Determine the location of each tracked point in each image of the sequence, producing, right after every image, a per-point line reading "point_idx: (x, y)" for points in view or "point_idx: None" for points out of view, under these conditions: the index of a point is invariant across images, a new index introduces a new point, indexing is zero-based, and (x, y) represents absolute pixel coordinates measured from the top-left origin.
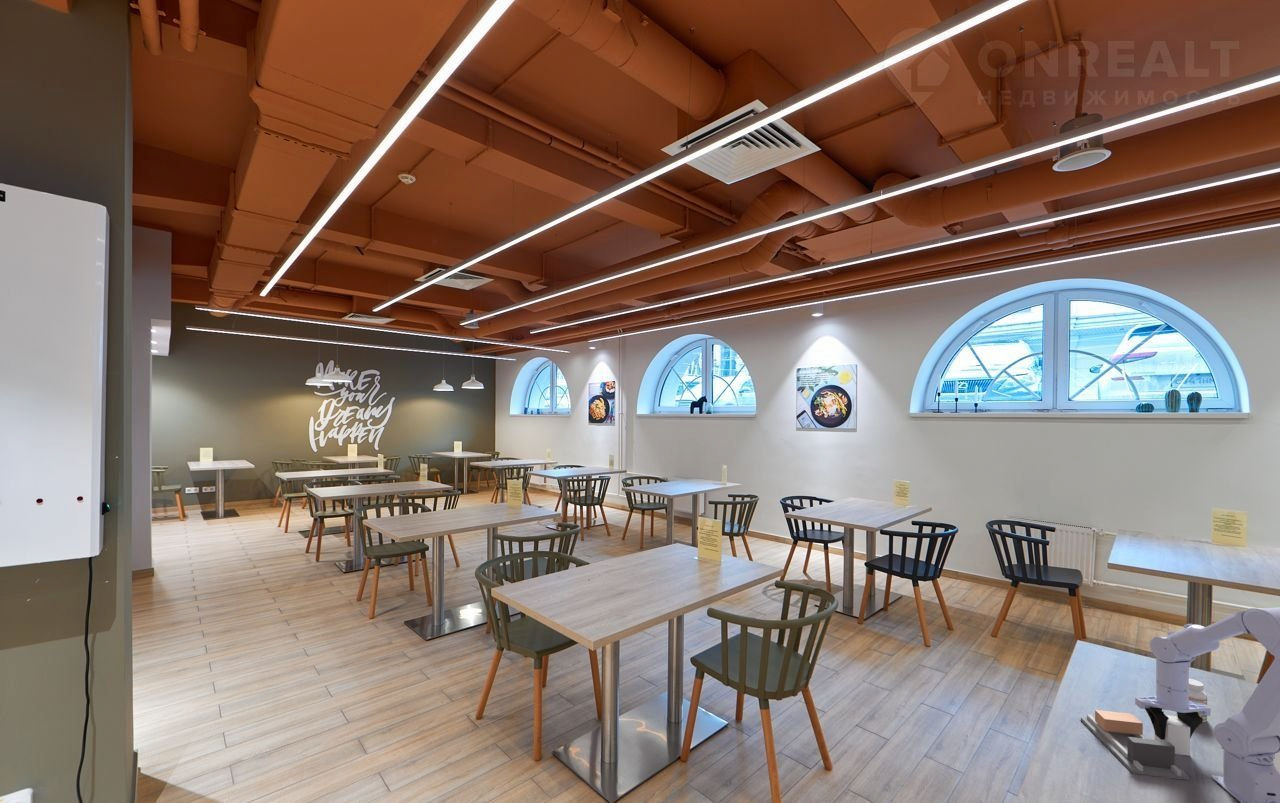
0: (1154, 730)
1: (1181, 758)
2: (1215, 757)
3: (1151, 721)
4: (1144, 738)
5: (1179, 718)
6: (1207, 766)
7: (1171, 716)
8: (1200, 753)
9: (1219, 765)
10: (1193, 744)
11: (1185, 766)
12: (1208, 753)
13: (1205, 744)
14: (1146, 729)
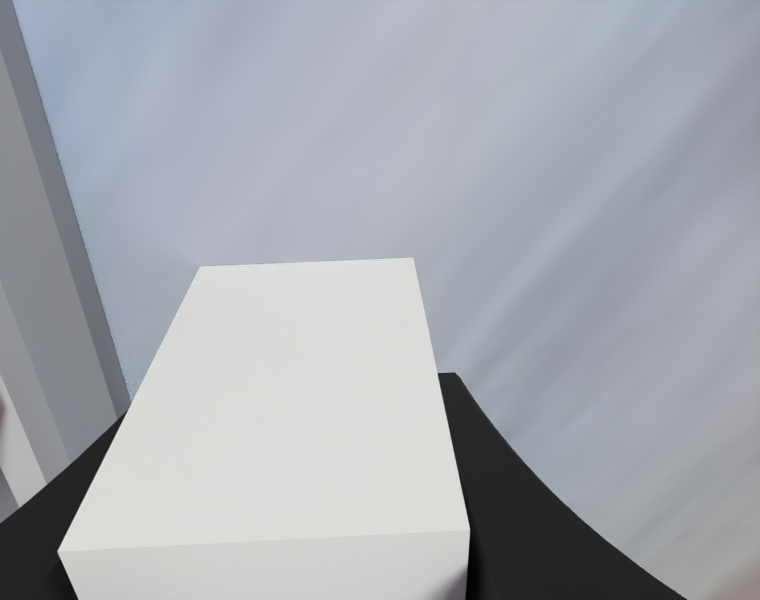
0: (126, 413)
1: None
2: (633, 392)
3: (34, 502)
4: (18, 426)
5: (480, 584)
6: None
7: (369, 551)
8: (542, 366)
9: (563, 484)
10: (605, 226)
11: None
12: (623, 349)
13: (750, 193)
14: (224, 2)
